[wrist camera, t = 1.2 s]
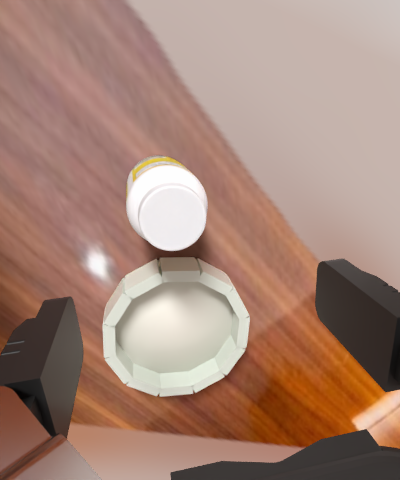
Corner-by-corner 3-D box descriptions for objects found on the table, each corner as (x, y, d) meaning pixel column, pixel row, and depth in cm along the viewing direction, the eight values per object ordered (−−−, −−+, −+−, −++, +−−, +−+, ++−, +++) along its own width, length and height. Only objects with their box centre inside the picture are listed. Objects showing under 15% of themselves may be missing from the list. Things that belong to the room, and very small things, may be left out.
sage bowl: (77, 301, 31) (72, 319, 28) (204, 232, 31) (211, 243, 28) (149, 393, 36) (150, 417, 33) (258, 334, 36) (269, 352, 33)
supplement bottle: (172, 228, 31) (189, 276, 22) (115, 200, 29) (107, 240, 20) (202, 173, 29) (234, 200, 20) (145, 141, 28) (151, 155, 19)
